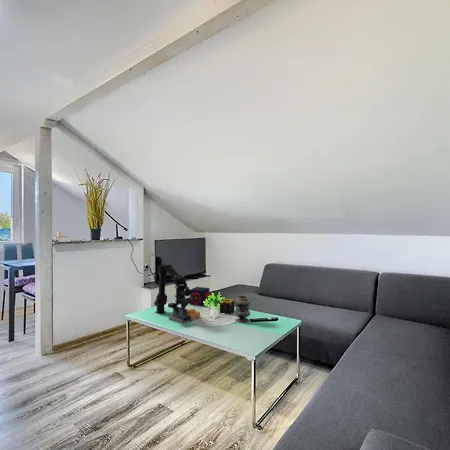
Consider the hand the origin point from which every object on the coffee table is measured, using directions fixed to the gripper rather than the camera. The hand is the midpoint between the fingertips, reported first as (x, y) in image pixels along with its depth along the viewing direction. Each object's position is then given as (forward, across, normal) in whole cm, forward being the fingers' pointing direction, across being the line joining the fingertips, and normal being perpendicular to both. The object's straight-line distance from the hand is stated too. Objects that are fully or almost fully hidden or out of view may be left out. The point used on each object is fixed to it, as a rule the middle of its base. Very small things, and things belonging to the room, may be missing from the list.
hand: (180, 314), depth 230 cm
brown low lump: (+4, +10, 0) cm, 11 cm away
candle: (+4, +38, -14) cm, 41 cm away
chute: (+2, 0, 0) cm, 2 cm away
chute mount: (+4, 0, 0) cm, 4 cm away
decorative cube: (+4, +42, +23) cm, 48 cm away
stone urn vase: (+4, +30, -37) cm, 48 cm away
